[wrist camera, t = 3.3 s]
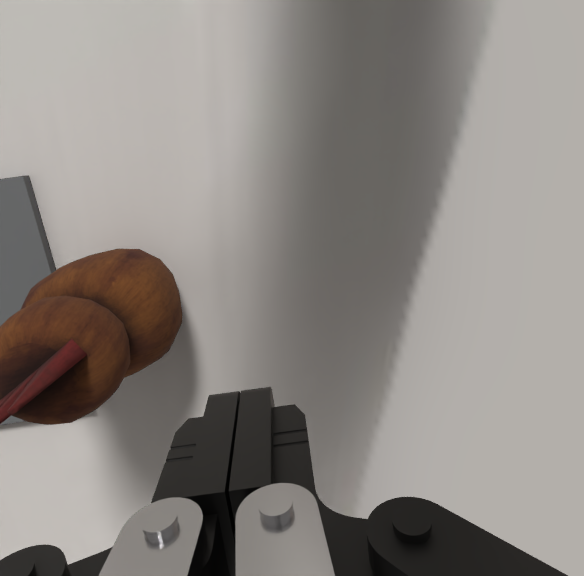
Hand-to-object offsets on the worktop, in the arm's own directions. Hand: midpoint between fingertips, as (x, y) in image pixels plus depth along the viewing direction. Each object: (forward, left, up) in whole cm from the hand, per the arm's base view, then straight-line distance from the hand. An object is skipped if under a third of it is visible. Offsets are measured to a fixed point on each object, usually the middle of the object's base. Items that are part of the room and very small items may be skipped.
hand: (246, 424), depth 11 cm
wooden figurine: (+8, 0, -16) cm, 18 cm away
